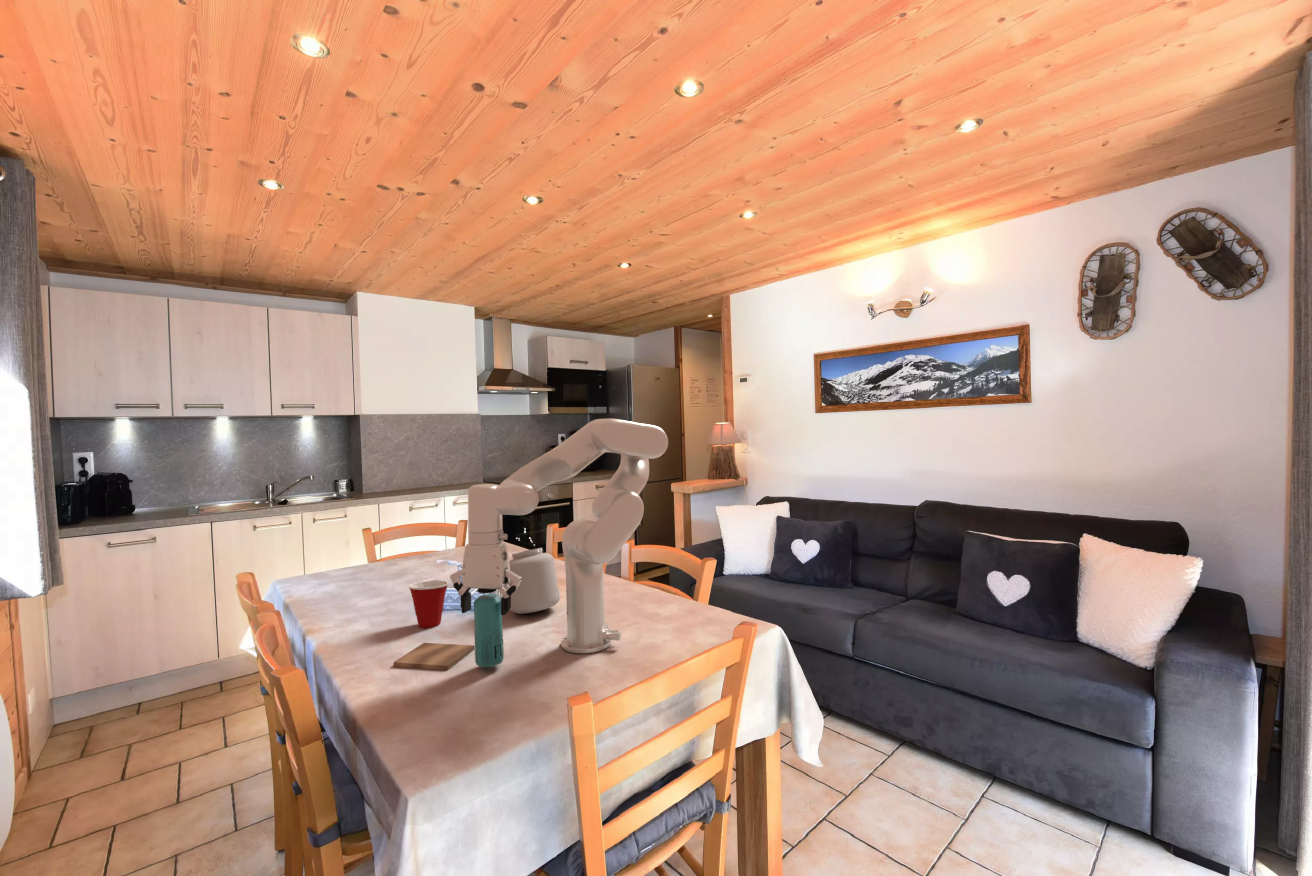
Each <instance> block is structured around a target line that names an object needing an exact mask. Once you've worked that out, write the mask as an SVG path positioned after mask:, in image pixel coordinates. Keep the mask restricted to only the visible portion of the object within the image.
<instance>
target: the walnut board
mask: <svg viewBox="0 0 1312 876" xmlns="http://www.w3.org/2000/svg"><path fill="white" fill-rule="evenodd" d="M474 647H475V644H474V645H472V644H471V645H470V644H451V643H436V642H434V643H433V642H423V643H421V644H419V645H418V646H417V647H415V648H413V649H412V650H411V651H409V652H407V653H406V654H404V655H402V656H401V657H399V658H398V659H396V660H395V661H393V667H394V666H397V668H411V669H426V670H441V671H449V670H450V669H451V668H453V667H454V666H456V665H457V664H458V663H459V662H460V661H462V660H463V659H464V658H466V657H467V656H469V654H471V653H472V652H473V651H475V649H474ZM465 656H466V657H465Z"/></svg>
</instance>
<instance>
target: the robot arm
mask: <svg viewBox="0 0 1312 876" xmlns="http://www.w3.org/2000/svg"><path fill="white" fill-rule="evenodd" d="M668 447H669V438H668V436H667V434H666V432H665V431H664V429H662V428H661V427H659V426H657V425H653V424H647V423H643V422H642V423H640V422H635V421H629V420H624V419H619V418H610V417H609V418H597V419H593V420H591V421H590V422H588V423H586V424H585V425H584V426H582V427H580V429H578V430H577V431H575V433H573V434H572V435H570V436H569V437H568V438H567V439H565V440H563V441H562V442H561V443H560V444H559V445H557V446H555V447H554V448H553V449H551V450H550V451H547V452H545V453H543V454H542V455H541V456H539V457H537V458H535V459H534V460H532V461H530V462H528V463H527V464H525V465H523V466H522V467H520V468H519V469H518V470H516V471H515V472H513V473H512V474H511V475H509V476H508V477H507V478H506V479H504V480H503V481H502V482H501V483H500V484H494V483H483V484H482V483H480V484H473V485H471V486H470V487H469V489H468V492H467V509H468V510H467V512H468V513H467V516H468V517H467V521H468V522H467V523H468V525H467V530H468V531H467V533H468V536H467V537H468V538H467V541H468V543H466V544H465V548H464V551H463V558H462V565H461V566H462V567H461V569H460V570H458V571H455V572H454V573H451V574H450V575H449V579H450V580H451V583H452V584H453V585H452V586H453V588H454V589H455V591H457V594H458V596H460V609H461V613H462V614H465V613H467V612H468V611H471V609H472V592H470V591H471V589H477V590H478V589H496V590H498V592H499V593H500V595H501V596H502V597H500V598H501V615H502V617H503V616H506V615H508V614H509V613H510V612H511V595H512V594H513V593H514V592H515V591H516V590H517V589H518V586H519V584H520V582H521V580H522V578H521V577H520V576H518V575H517V574H515V573H513V572H512V571H510V564H509V561H510V557H509V551H508V547H507V543H506V542H504V540H505V541H506V540H508V534H507V533H504V530H503V515H505V516H507V515H509V516H526V515H528V514H531V513H532V512H534V511H535V510H536V508H537V506H538V504H539V500H540V498H539V497H540V496H539V493H538V492H539V491H540V490H543V489H544V488H546V487H548V486H550V485H552V484H555V483H557V482H562V481H563V482H564V481H565V480H568V479H571V478H573V477H575V476H576V475H578V474H580V472H581V471H583V470H584V469H586V468H587V466H589V465H590V464H592V463H593V462H594V461H596V460H597V459H598V458H599V457H601V456H602V455H604V454H605V453H612V454H619V455H620V464H619V467H618V468H617V470H616V471H615V472H614V474H613V475H612V476H611V478H610V479H609V480H608V482H607V483H606V484H605V485H604V486H603V487H602V489H601V490H600V492H598V494H597V495H596V496H595V498H594V499H593V502H592V504H591V510H592V514H593V516H594V518H596V519H597V520H596V521H593V520H589V519H583V518H581V519H575V520H573V521H572V522H570V523H569V524H568V525H567V526H566V527H565V529H564V530H563V533H562V536H561V545H562V547H561V548H562V553H563V558H564V566H565V590H566V591H565V593H566V629H567V631H566V632H567V633H566V634H567V635H565V636H564V637H563V638H562V639H561V641H560V643H561V648H562V649H563V650H564V651H566V652H569V653H574V654H591V653H597V652H600V651H603V650H606V649H607V648H609V647H610V645H611V644H612V641H616V642H617V641H618V642H620V641H621V640H622V632H619V629H611V628H609V623H606V621H605V620H606V619H605V575H604V566H603V565H604V564H607V563H609V562H610V561H611V560H612V559H614V558H615V557H616V555H617V554H618V553H619V552H620V550H621V549H622V548H624V545H625V544H626V543H627V541H628V540H629V539H630V538H631V536H632V535H633V533H635V531H636V529H637V528H638V527H639V525H640V523H641V521H642V519H643V518H644V517H643V516H644V511H645V506H644V505H645V504H644V502H643V499H642V498H641V496H640V494H641V492H642V491H643V490H644V488H645V486H646V484H648V483H647V482H648V481H649V478H650V477H649V476H650V462H649V459H658V458H660V457H661V456H662V455H663V454H665V452H666V451H667V449H668ZM460 577H461V581H460ZM510 579H511V580H512V581H513V584H512V586H511V587H509V585H508V584H509V583H510Z"/></svg>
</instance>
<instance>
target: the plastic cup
mask: <svg viewBox="0 0 1312 876" xmlns="http://www.w3.org/2000/svg"><path fill="white" fill-rule="evenodd" d="M449 584H450V581H447V580H424V581H418V582H417V581H416V582H413V583H409V585H407V586H408V589H409V590H410V594H411V597H412V601H413V602H412V603H413V607H414V612H415V616H416V620H417V624H418V627H419V629H432V628H435V627H438V626H439V625H440V624H441V622H442V618H443V617H442V615H443V611H444V604H445V597H446V593H447V590H448V586H449Z"/></svg>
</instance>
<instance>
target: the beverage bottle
mask: <svg viewBox="0 0 1312 876" xmlns="http://www.w3.org/2000/svg"><path fill="white" fill-rule="evenodd" d="M494 592H497V589H477V593H478V594H482V595H479V596H478V597H477V598H476V599H475V600H474V601H473V615H474V616H473V618H474V629H473V630H474V642H473V643H474V649H475V650H473V651H474V660H475V663H476V666H478V667H480V668H490V667H495V666H498V665H500V664H501V663H502V662H503V661H504V655H505V654H504V653H505V647H504V645H505V643H504V630H503V624H504V622H503V616H502V615H501V598H502V597H500V596H498V595H497V594H495V593H494Z"/></svg>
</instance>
